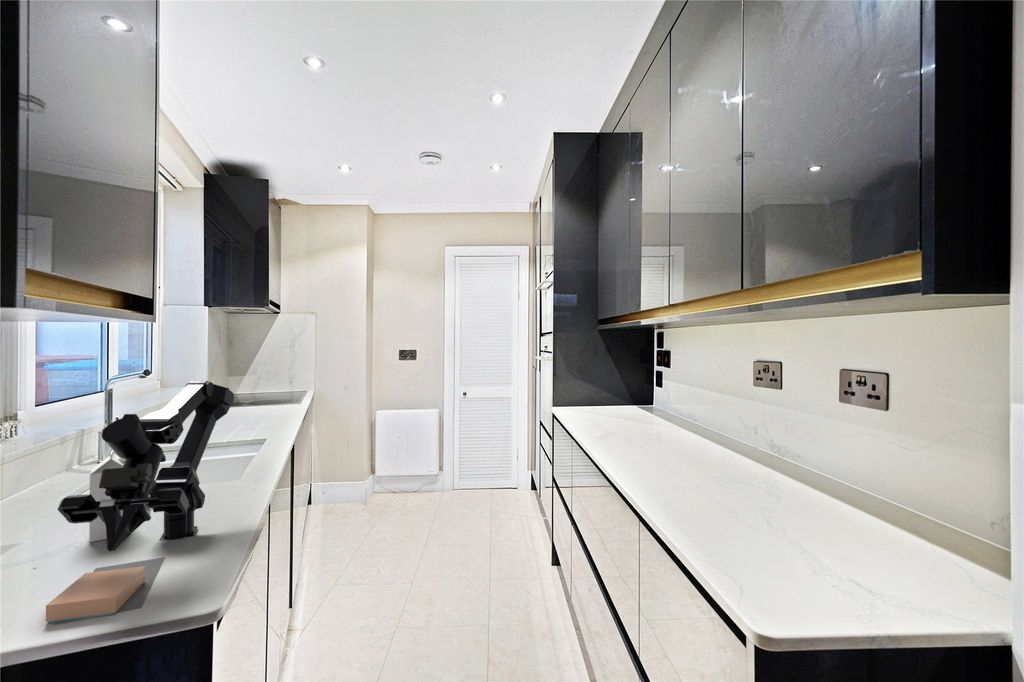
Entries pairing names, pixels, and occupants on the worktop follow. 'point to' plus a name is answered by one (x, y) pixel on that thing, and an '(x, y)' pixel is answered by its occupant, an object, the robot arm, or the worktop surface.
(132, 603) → the mat
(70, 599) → the tile
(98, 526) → the milk carton
